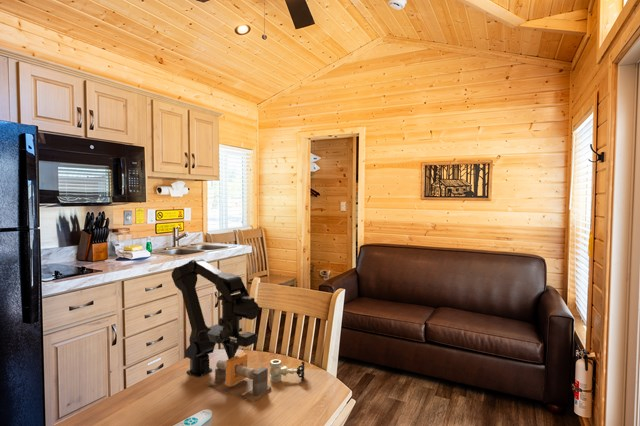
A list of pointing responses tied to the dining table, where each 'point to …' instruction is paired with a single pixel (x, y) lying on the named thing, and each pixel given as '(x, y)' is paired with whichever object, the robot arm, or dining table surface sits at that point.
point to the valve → (284, 371)
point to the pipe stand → (242, 381)
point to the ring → (230, 369)
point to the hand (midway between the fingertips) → (230, 360)
